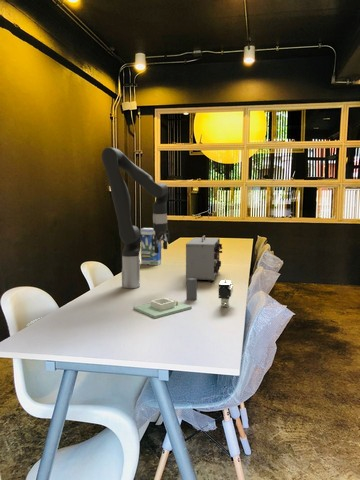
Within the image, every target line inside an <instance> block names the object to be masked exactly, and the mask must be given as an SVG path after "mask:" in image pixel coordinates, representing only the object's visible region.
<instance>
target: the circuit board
mask: <svg viewBox="0 0 360 480" xmlns="http://www.w3.org/2000/svg"><path fill="white" fill-rule="evenodd" d="M192 307H193V306H192V305H189V304H186V303H183V302H181V301H178V300H176V299H172V298H166V297H161V298H157V299H153V300H150V302H149V303H145V304H141V305H136V306H133V310H134V311H137V312H139V313H142V314H144V315H146V316H148V317H151V318H154V319H158V318H162V317H165V316H168V315H169V316H170V315H173V314H176V313H180V312H183V311H184V312H185V311H187V310H191V309H192Z"/></svg>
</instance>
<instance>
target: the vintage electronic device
mask: <svg viewBox="0 0 360 480" xmlns="http://www.w3.org/2000/svg"><path fill="white" fill-rule="evenodd" d="M220 242H221V240H220V238H218V237H206V235H203V236H202V237H193V238H192V239H190V240H189V241H188V242H187V243H185V280H186V279H188V278H195V279H197V280H204V281H205V280H206V281H208V282H209V283H212V282H213V281H215V279H216V277H217V275H218V272H219V271H220V267H221V266H222V261H221V260H220V254H222V253H223V246H222V245H223V243H220Z"/></svg>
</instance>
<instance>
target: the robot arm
mask: <svg viewBox="0 0 360 480" xmlns="http://www.w3.org/2000/svg"><path fill="white" fill-rule="evenodd" d="M101 161H102V164H103V167H104V170H105V172H106V176H107V180H108V183H109V188H110V194H111V199H112V202H113V207H114V210H115V214H116V218H117V223H118V224H117V227H118V234H119V238H120V241H122V243H124V247H123V249H122V252H121V254H122V259H121V260H122V261H121V262H122V269H121V288H124V289H136V288H140V286H141V279H140V278H141V274H140V273H141V271H140V270H141V269H140V268H141V267H140V265H141V264H140V261H141V260H140V253H141V229H140V228H139V227H138V226H136V225H133V222H132V218H131V208H132V207H131V206H132V205H131V203H132V201H131V196H130V192H129V188H128V185H127V184H126V182H125V180H124V177H122V174H121V172H120V169H122V170H123V171H124V172H125V173H127V174H128V175H129V176H130V177H131V179H132V180H133V181H134V182H136V183H137V184H138V185H140V186H141V187H142V188H143V189H144V190H145V191H147V193H148V194H149V196H152V197H153V198H155V201H154V202H153V205H152V228H153V230H154V231H155V235H152V246H154V250H155V253H157V254H158V253H159V247H158V246H159V243H160V242H161V243H162V249H163V250H168V242H169V241H170V239H171V237H170V230H169V229H168V214H167V213H168V211H167V203H168V199H169V188H168V185H167V184H166V183H164V182H160V183H157V182H155V181H154V178H153V176H152V175H150V174H149V173H148V172H146V171H145V170H144V169H142V168H140V167H139V166H138V165H136V164H135V163H134V162H133V161H131V159H129V158H128V156H127V155H125V153H124V152H122V151H121V150H120V149H119V148H116V147H115V148H114V147H105V148H104V149H103V151H102V153H101ZM157 240H158V241H157Z"/></svg>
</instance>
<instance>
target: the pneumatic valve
mask: <svg viewBox="0 0 360 480" xmlns="http://www.w3.org/2000/svg"><path fill="white" fill-rule="evenodd" d="M233 289H234V285H233V282H232V280H229V279H221V280H220V282H219V284H218V299H220V307H222V308H223V307H224V308H229V306H230V298H231V297H232V295H233V292H234V290H233Z"/></svg>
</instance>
